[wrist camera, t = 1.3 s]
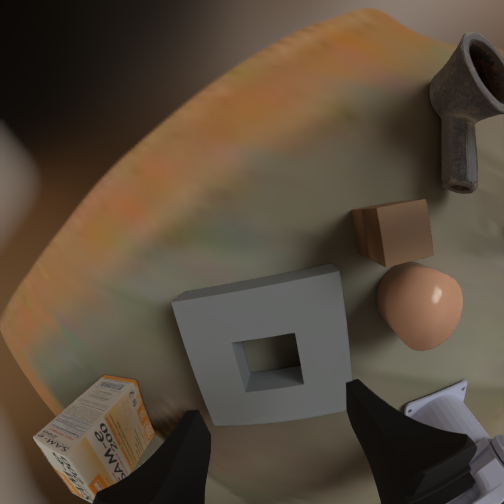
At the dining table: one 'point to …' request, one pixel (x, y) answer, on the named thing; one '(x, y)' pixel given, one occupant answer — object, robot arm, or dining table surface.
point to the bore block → (261, 326)
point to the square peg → (394, 232)
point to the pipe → (466, 106)
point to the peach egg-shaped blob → (419, 304)
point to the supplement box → (98, 436)
